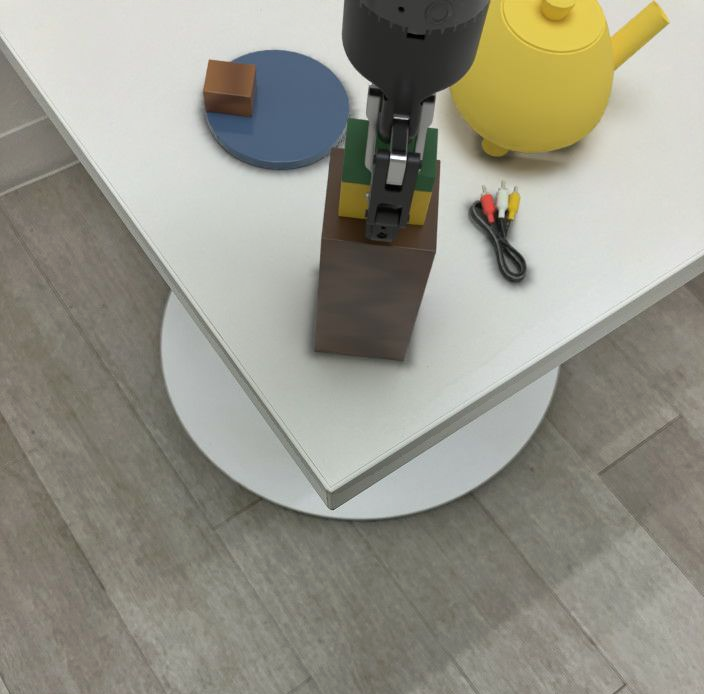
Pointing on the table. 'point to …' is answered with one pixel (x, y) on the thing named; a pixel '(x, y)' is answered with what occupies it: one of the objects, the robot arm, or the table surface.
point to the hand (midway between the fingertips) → (384, 189)
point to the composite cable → (500, 226)
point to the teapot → (546, 71)
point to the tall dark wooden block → (370, 278)
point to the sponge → (359, 176)
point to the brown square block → (230, 88)
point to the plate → (285, 113)
